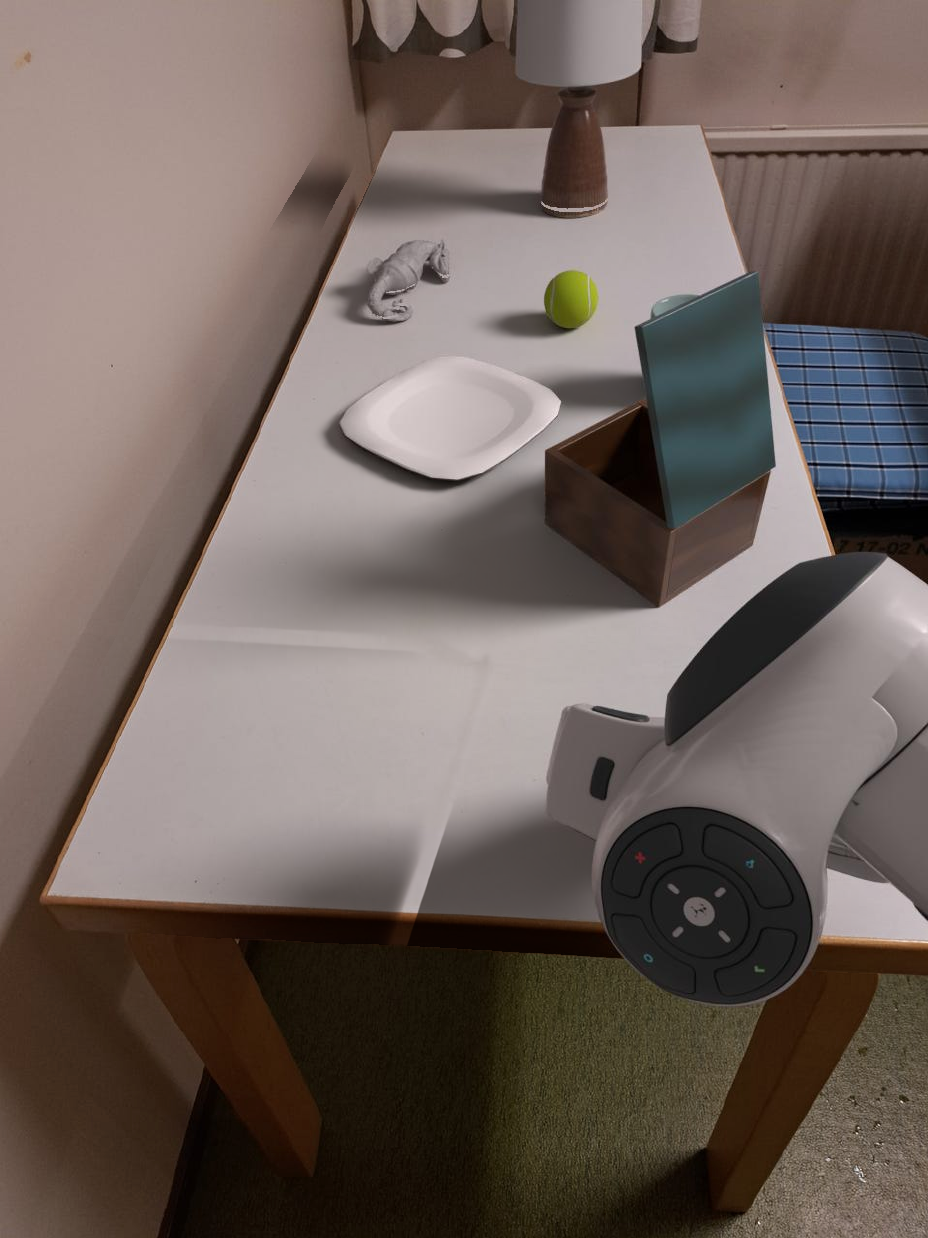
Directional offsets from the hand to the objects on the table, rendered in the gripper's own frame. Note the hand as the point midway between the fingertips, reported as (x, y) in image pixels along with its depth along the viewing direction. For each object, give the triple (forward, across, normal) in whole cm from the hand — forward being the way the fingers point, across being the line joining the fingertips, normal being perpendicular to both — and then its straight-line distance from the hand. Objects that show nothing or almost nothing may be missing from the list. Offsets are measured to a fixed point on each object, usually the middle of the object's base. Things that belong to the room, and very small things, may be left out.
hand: (723, 764), depth 56 cm
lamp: (+79, +44, -70) cm, 114 cm away
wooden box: (+25, +12, -16) cm, 31 cm away
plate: (+33, +38, -24) cm, 56 cm away
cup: (+43, +15, -34) cm, 57 cm away
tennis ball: (+52, +32, -42) cm, 74 cm away
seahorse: (+54, +57, -44) cm, 90 cm away
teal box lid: (+11, +8, -26) cm, 29 cm away
